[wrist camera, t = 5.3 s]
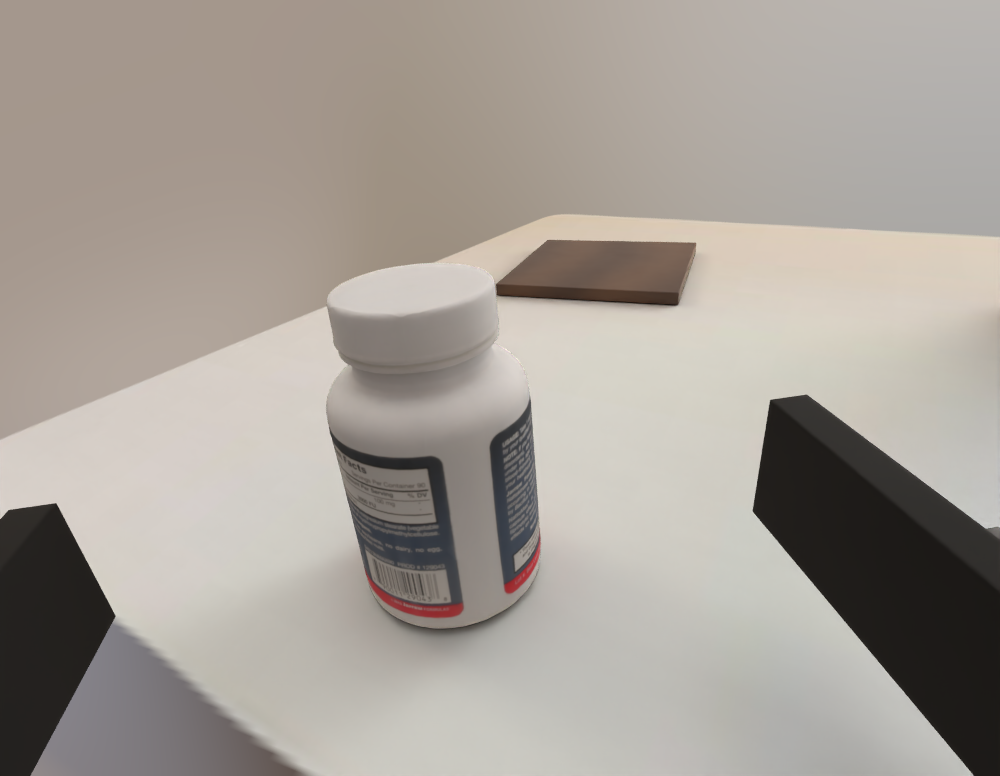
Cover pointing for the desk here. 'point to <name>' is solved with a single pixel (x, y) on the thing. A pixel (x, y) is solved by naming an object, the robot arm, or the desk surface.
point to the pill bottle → (434, 443)
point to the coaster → (603, 271)
